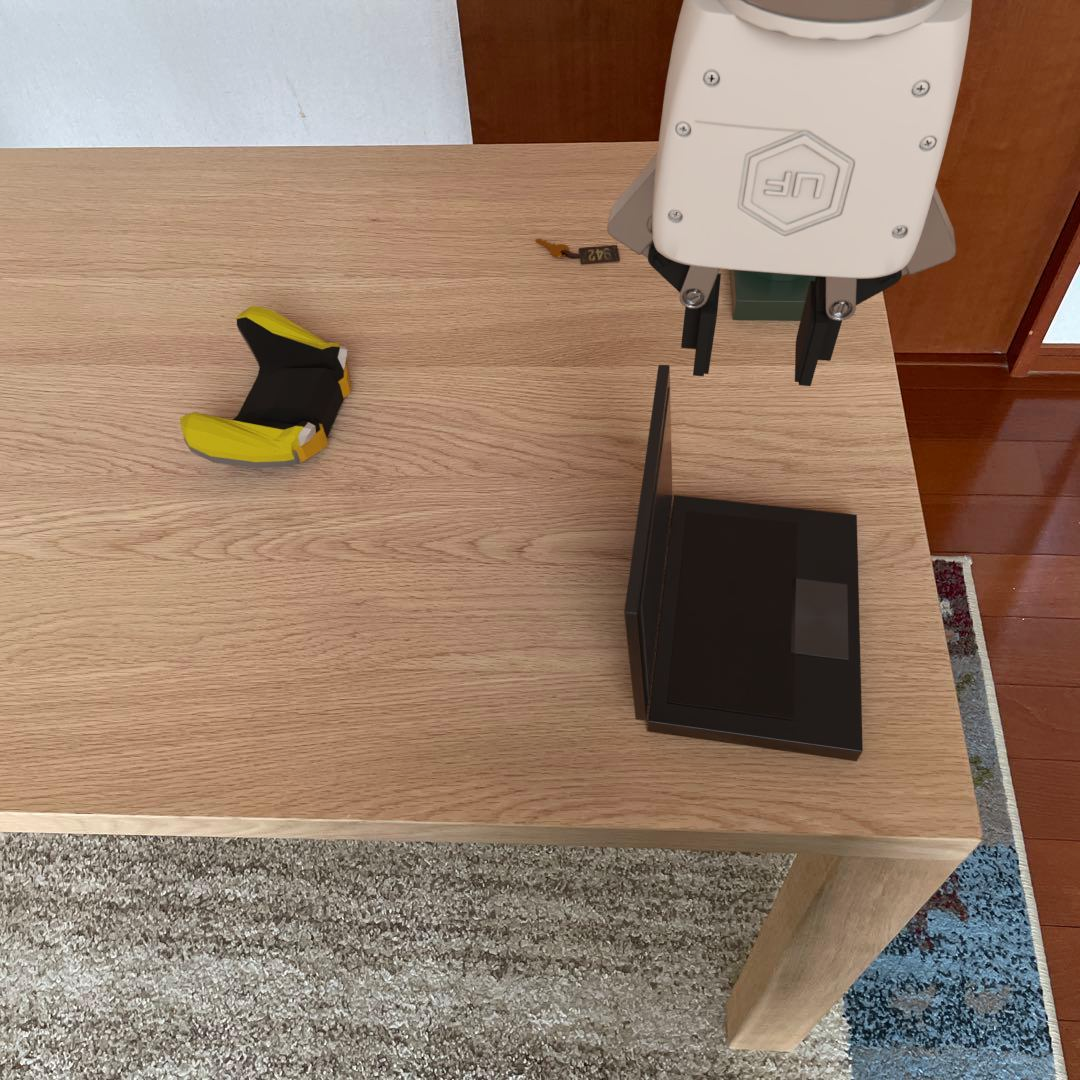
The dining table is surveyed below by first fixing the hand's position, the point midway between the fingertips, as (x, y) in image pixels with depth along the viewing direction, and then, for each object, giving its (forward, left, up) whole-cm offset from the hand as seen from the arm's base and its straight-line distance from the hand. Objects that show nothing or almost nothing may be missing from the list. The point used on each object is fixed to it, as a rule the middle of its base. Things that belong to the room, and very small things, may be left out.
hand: (752, 357), depth 44 cm
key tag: (-7, -40, -24) cm, 47 cm away
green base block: (-21, -30, -24) cm, 44 cm away
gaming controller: (+23, -30, -25) cm, 45 cm away
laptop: (-3, +2, -24) cm, 25 cm away
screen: (+3, -2, -16) cm, 17 cm away
